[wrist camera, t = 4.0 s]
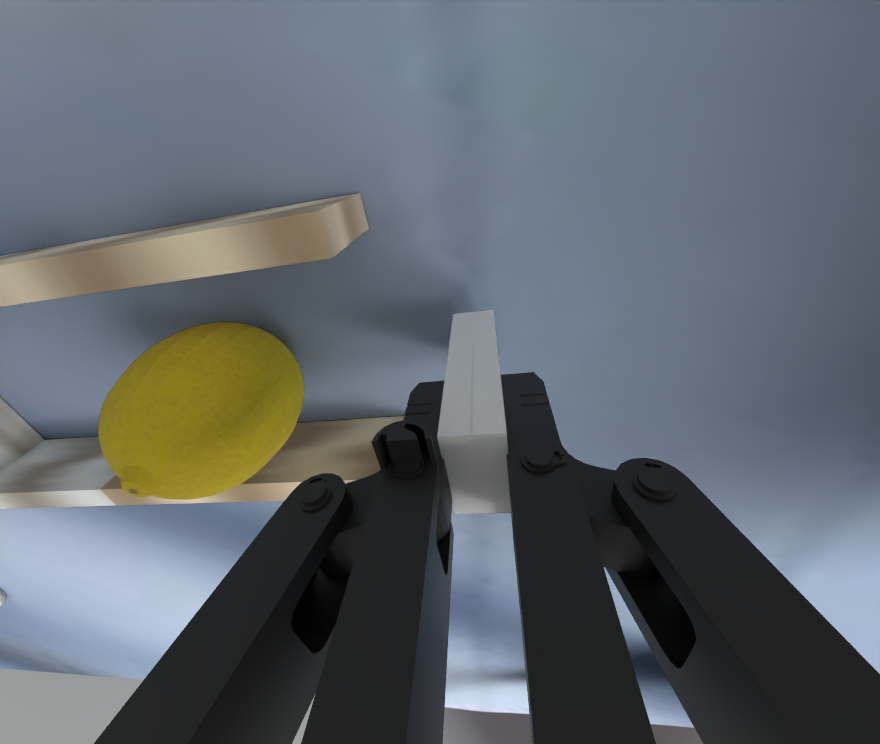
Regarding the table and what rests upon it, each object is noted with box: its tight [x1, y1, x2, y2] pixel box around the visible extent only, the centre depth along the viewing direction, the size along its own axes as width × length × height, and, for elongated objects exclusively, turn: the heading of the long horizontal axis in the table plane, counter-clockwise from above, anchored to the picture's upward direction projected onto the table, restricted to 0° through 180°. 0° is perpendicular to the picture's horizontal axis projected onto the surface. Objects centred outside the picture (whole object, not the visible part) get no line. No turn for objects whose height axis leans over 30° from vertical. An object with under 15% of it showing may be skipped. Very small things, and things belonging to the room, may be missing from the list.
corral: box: [0, 193, 404, 509], centre depth 16 cm, size 25×11×4 cm, turn 99°
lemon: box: [98, 322, 304, 500], centre depth 13 cm, size 6×6×8 cm
